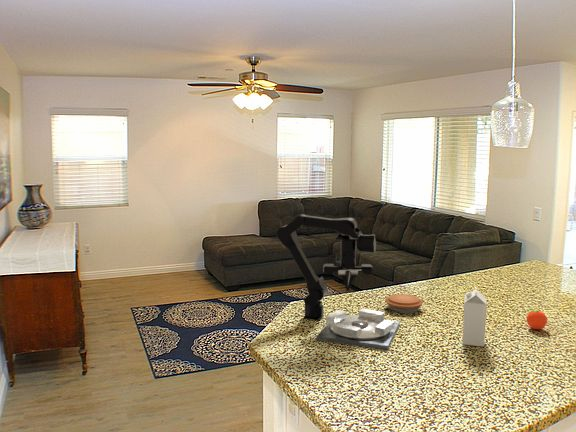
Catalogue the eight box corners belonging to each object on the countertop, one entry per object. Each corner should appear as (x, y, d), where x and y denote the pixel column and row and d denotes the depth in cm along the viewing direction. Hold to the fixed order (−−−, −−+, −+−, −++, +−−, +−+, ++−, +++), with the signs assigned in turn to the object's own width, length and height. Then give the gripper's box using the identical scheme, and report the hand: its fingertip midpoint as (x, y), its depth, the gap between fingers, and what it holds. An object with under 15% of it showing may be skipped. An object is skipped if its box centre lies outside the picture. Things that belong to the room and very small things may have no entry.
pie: (431, 310, 216) (431, 298, 215) (404, 317, 208) (404, 305, 207) (403, 301, 229) (403, 290, 228) (377, 307, 220) (377, 296, 219)
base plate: (316, 340, 184) (316, 335, 184) (335, 317, 208) (335, 313, 207) (387, 350, 176) (387, 345, 175) (399, 325, 199) (399, 321, 198)
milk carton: (483, 339, 185) (486, 287, 182) (484, 347, 178) (487, 293, 175) (462, 337, 187) (465, 285, 184) (462, 344, 180) (464, 291, 177)
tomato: (520, 328, 196) (521, 309, 195) (526, 323, 201) (527, 305, 200) (542, 333, 190) (544, 314, 189) (549, 328, 195) (550, 310, 194)
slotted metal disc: (375, 345, 176) (375, 335, 175) (316, 331, 188) (316, 321, 188) (401, 325, 194) (402, 315, 194) (346, 313, 207) (346, 305, 207)
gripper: (370, 247, 208) (369, 285, 210) (323, 246, 208) (322, 284, 211) (373, 253, 197) (372, 293, 199) (323, 252, 197) (323, 292, 200)
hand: (347, 290), depth 202 cm, fingers closed
